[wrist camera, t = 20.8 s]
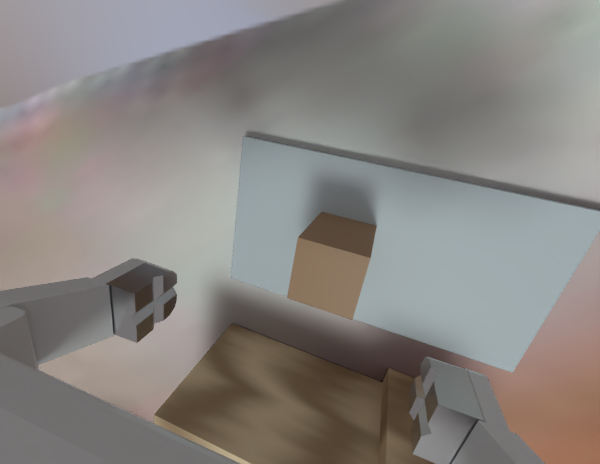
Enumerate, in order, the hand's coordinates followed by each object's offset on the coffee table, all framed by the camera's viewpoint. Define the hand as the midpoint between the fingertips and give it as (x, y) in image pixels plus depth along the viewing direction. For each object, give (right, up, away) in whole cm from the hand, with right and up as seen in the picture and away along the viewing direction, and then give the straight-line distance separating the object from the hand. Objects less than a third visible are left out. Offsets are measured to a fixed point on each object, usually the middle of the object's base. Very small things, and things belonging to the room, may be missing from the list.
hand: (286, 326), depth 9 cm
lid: (+5, +2, +8) cm, 10 cm away
